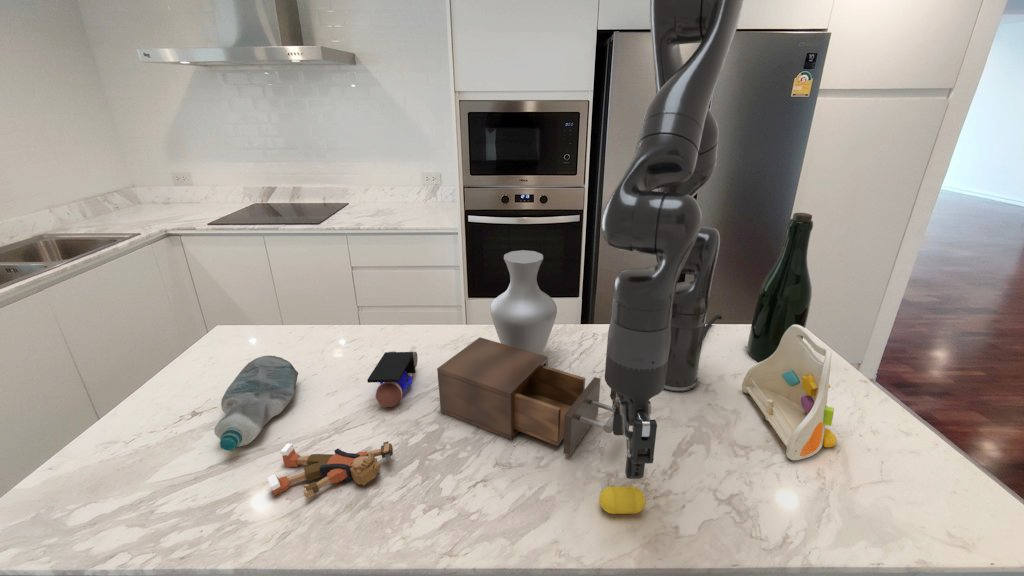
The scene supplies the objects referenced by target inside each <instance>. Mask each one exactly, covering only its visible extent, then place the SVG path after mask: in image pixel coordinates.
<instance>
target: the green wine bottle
mask: <svg viewBox="0 0 1024 576" xmlns="http://www.w3.org/2000/svg"><path fill="white" fill-rule="evenodd" d="M812 219H813V215H812V214H811V213H806V212H794V213H793V215H792V217H791V218H790V219H789V221H788V223H787V231H786V235H785V239H784V243H783V246H782V249H781V251H780V255H779V256H778V258H777V260H776V261H775V263H774V265H773V266H772V268H771V269H770V270H769V271H768V273H767V275H766V276H765V277H764V279H763V281H762V283H761V285H760V288H759V292H758V295H757V299H756V303H755V308H754V312H753V317H752V321H751V326H750V329H749V334H748V339H747V344H746V351H747V353H748V354H749V355H750V356H751V357H752V358H753V359H755V360H757V361H759V362H762V361H764V360H766V359H767V358H769V357H770V356H771V355H772V354H773V353H774V352H775V351H776V350H777V348H778V346H779V344H780V341H781V339H782V337H783V335H784V333H785V332H786V331H787V329H788V328H789V327H791V326H792V325H800V326H802V327H804V328H805V329H806V327H807V322H808V317H809V314H810V308H811V301H812V297H813V286H812V280H811V276H810V271H809V266H808V253H809V251H808V250H809V244H810V238H811V236H812V235H811V233H812V231H813V228H814V221H813V220H812ZM801 339H802V340H803V341H804V338H803V337H802V336H801Z"/></svg>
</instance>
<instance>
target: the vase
mask: <svg viewBox="0 0 1024 576" xmlns="http://www.w3.org/2000/svg"><path fill="white" fill-rule="evenodd" d="M503 260H504V262H505V264H506V267H507V270H508V272H509V280H510V282H509V284H508V287H507V289H506V290H505V291H504V292H501V294H499V295H497V297H495V299H494V300H492V302H491V305H490V310H489V311H490V318H491V321H492V324H493V326H494V329H495V332H496V334H497V338H498V340H499V343H501V344H505V345H508V346H512V347H515V348H519V349H522V350H526V351H529V352H533V353H536V354H540V355H543V353H544V350H545V348H546V346H547V344H548V342H549V338H550V335H551V334H552V333H551V332H552V330H553V327H554V324H555V322H556V318H557V314H558V307H557V304H556V302H555V300H554V299H553V298H552V297H551V296H550V295H548V294H547V293H546V292H544V291H542V290H541V289H540V287H539V284H538V280H537V278H538V272H539V270H540V266H541V264H542V262H543V260H544V254H542V253H540V252H538V251H534V250H528V249H527V250H525V249H521V250H512V251H510V252H507V253H505V254H504V255H503Z"/></svg>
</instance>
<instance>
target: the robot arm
mask: <svg viewBox="0 0 1024 576" xmlns="http://www.w3.org/2000/svg"><path fill="white" fill-rule="evenodd" d="M743 5H744V0H649V24H650V26H649V27H650V38H651V49H652V59H653V71H654V81H655V83H654V84H655V95H654V96H653V97H652V99H651V101H650V102H649V104H648V106H647V108H646V110H645V113H644V116H643V119H642V122H641V127H640V131H639V135H638V139H637V143H636V146H635V150H634V154H633V157H632V159H631V161H630V163H629V166H628V167H627V169H626V170H625V172H624V174H623V176H622V178H621V179H620V180H619V182H618V184H617V186H616V187H615V188H614V190H613V192H612V194H611V195H610V197H609V199H608V201H607V202H606V206H605V207H604V210H603V213H602V219H601V232H602V236H603V239H604V241H605V242H606V244H607V246H609V247H610V248H611V249H612V250H613V249H614V250H616V251H619V252H627V253H636V254H643V255H652V256H655V258H656V264H654V265H649V266H640V267H638V266H636V267H630V268H626V269H624V270H622V271H620V272H619V273H617V274H616V277H615V278H614V282H613V290H612V291H613V292H612V304H611V317H610V322H609V325H608V332H607V342H606V353H605V354H606V355H605V367H604V381H605V383H606V385H607V386H608V388H610V393H609V397H610V400H611V401H612V405H611V406H612V408H613V411H614V418H613V429H612V430H613V431H612V434H613V435H614V436H622V437H623V438H625V441H626V459H625V460H626V461H625V468H624V469H625V470H624V473H625V477H626V478H627V479H628V480H641V479H643V478H644V473H645V466H646V464H647V465H648V464H650V465H651V464H653V463H654V459H655V446H656V437H657V428H658V423H657V420H656V419H651V414H652V403H651V399H652V398H654V397H656V396H657V395H659V394H660V393H662V391H663V390H666V391H667V390H668V391H672V392H686V391H687V392H688V391H690V390H692V389H694V388H695V387H696V385H697V380H698V372H699V366H700V361H701V353H702V348H703V347H702V346H703V342H704V341H703V340H704V338H705V337H706V334H707V332H708V330H709V328H710V327H711V326H712V325H713V324H714V323H715V321H717V320H722V319H723V317H722V316H721V314H716V315H714V316H713V317H712V318H711V319H710V320H709V321H708V322H707V324H706V321H707V315H708V309H709V304H710V296H711V291H712V290H711V289H712V283H713V279H714V275H715V270H716V265H717V262H718V261H717V260H718V257H719V251H720V247H721V246H720V245H721V236H720V232H719V230H718V229H717V228H716V227H711V226H705V225H704V226H703V225H702V224H703V213H702V209H701V206H700V204H699V202H698V201H697V199H696V198H695V196H696V195H697V194H698V193H699V192H700V191H701V190H702V189H703V188H704V187H705V185H706V184H707V183H708V181H709V180H710V179H711V178H712V177H713V174H714V172H715V171H716V168H717V162H718V149H719V148H718V147H719V136H720V135H719V134H720V131H719V130H720V129H719V124H718V122H717V120H716V117H715V115H714V113H713V112H712V110H711V109H710V104H711V101H712V98H713V95H714V93H715V90H716V88H717V85H718V82H719V79H720V77H721V75H722V73H723V69H724V67H725V63H726V62H727V61H726V60H727V58H728V55H729V53H730V49H731V47H732V45H733V44H732V43H733V42H734V38H735V35H736V32H737V31H738V26H739V23H740V20H741V19H740V18H741V15H742V9H743ZM689 44H690V45H691V44H699V45H698V47H697V48H696V49H695V50H694V52H693V53H692V54H691V56H690V57H689V58H687V60H686V62H684V60H683V57H682V52H681V47H680V45H689ZM655 190H657V191H655ZM681 274H685V275H691V276H693V278H691V279H689V280H687V281H683V282H681V281H680V282H679V280H680V276H681ZM630 427H631V429H632V430H630Z"/></svg>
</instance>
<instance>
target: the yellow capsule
mask: <svg viewBox="0 0 1024 576" xmlns="http://www.w3.org/2000/svg"><path fill="white" fill-rule="evenodd" d="M598 500H599V504H600V507H601V508H602V510H604V511H605V512H606V513H608V514H612V515H613V514H614V515H615V514H616V515H617V514H621V515H622V514H625V515H627V514H634V515H635V514H637V513H640V512H642V511H643V510H644V508H645V506H646V496H645V494H644V492H643V491H642V490H641V489H640V488H638V487H636V486H633V485H631V486H629V485H627V486H623V485H622V486H618V485H617V486H606V487H605V488H603V489H602V490H601V492H600V494H599V499H598Z"/></svg>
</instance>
